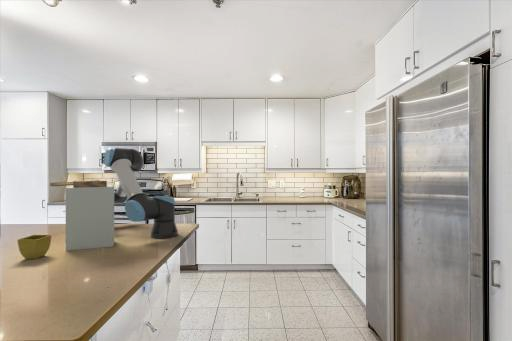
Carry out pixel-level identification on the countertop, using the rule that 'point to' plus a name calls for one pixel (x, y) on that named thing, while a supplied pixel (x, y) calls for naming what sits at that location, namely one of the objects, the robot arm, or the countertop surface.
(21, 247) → the flower pot
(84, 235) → the stand
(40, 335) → the countertop surface
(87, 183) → the T-bar
